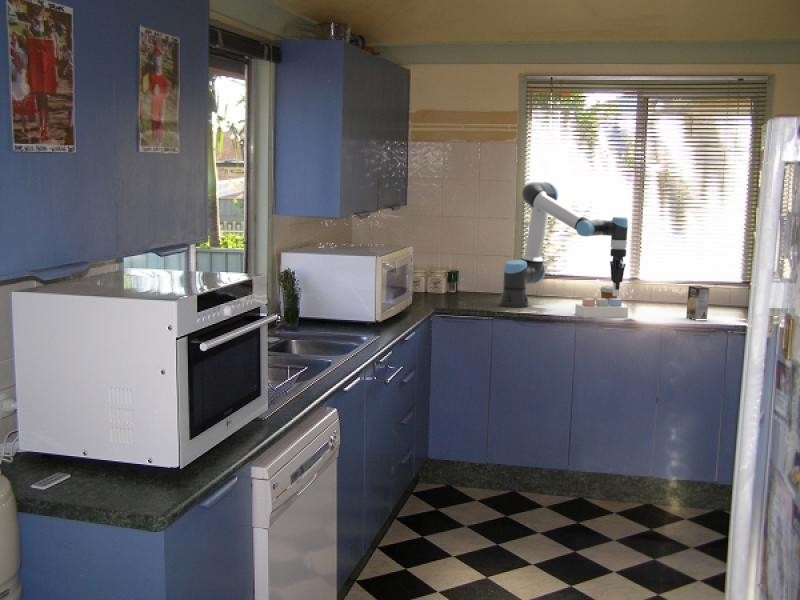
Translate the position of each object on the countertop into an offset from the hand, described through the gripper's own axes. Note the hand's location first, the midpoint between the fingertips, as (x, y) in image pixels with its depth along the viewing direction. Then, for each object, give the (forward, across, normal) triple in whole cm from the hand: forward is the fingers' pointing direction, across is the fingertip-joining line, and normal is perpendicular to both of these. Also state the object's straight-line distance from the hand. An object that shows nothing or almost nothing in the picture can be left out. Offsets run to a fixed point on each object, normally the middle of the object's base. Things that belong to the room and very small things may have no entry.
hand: (615, 295), depth 453 cm
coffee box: (+10, -12, -38) cm, 41 cm away
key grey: (+8, 0, +7) cm, 10 cm away
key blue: (+8, 0, 0) cm, 8 cm away
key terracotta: (+8, 0, +14) cm, 16 cm away
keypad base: (+10, 0, +7) cm, 12 cm away
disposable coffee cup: (+10, +16, -4) cm, 19 cm away
